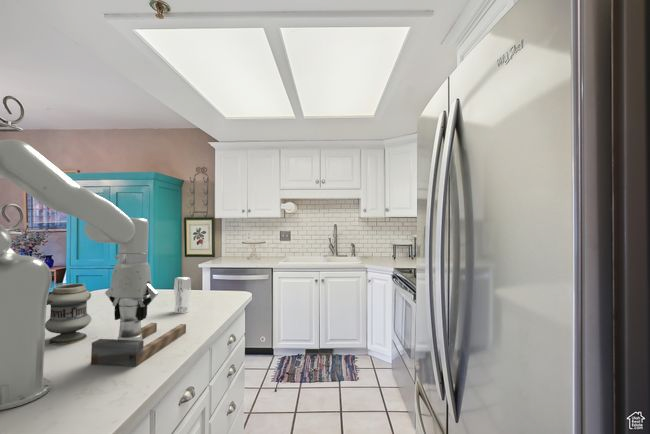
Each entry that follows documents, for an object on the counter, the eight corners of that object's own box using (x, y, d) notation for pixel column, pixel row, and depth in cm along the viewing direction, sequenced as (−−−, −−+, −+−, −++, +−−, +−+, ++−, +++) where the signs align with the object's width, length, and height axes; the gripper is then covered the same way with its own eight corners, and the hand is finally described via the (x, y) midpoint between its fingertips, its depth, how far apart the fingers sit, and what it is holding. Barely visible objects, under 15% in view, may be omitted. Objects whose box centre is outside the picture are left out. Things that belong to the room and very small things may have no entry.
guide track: (135, 366, 88) (136, 344, 88) (90, 364, 88) (91, 342, 89) (185, 332, 116) (186, 315, 116) (151, 331, 116) (151, 314, 117)
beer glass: (173, 310, 144) (174, 277, 145) (189, 309, 147) (191, 276, 148) (172, 314, 138) (174, 279, 138) (190, 313, 141) (191, 279, 141)
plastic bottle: (130, 356, 91) (133, 286, 92) (110, 353, 92) (113, 284, 93) (147, 348, 97) (150, 282, 98) (128, 345, 99) (131, 281, 99)
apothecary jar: (33, 344, 102) (36, 287, 102) (69, 332, 113) (71, 281, 114) (67, 347, 100) (69, 289, 100) (99, 334, 112) (101, 283, 112)
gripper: (95, 259, 92) (93, 321, 92) (153, 261, 91) (151, 324, 91) (114, 256, 100) (111, 314, 99) (167, 258, 99) (165, 316, 98)
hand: (130, 318), depth 95 cm, fingers closed on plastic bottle, 6 cm apart
